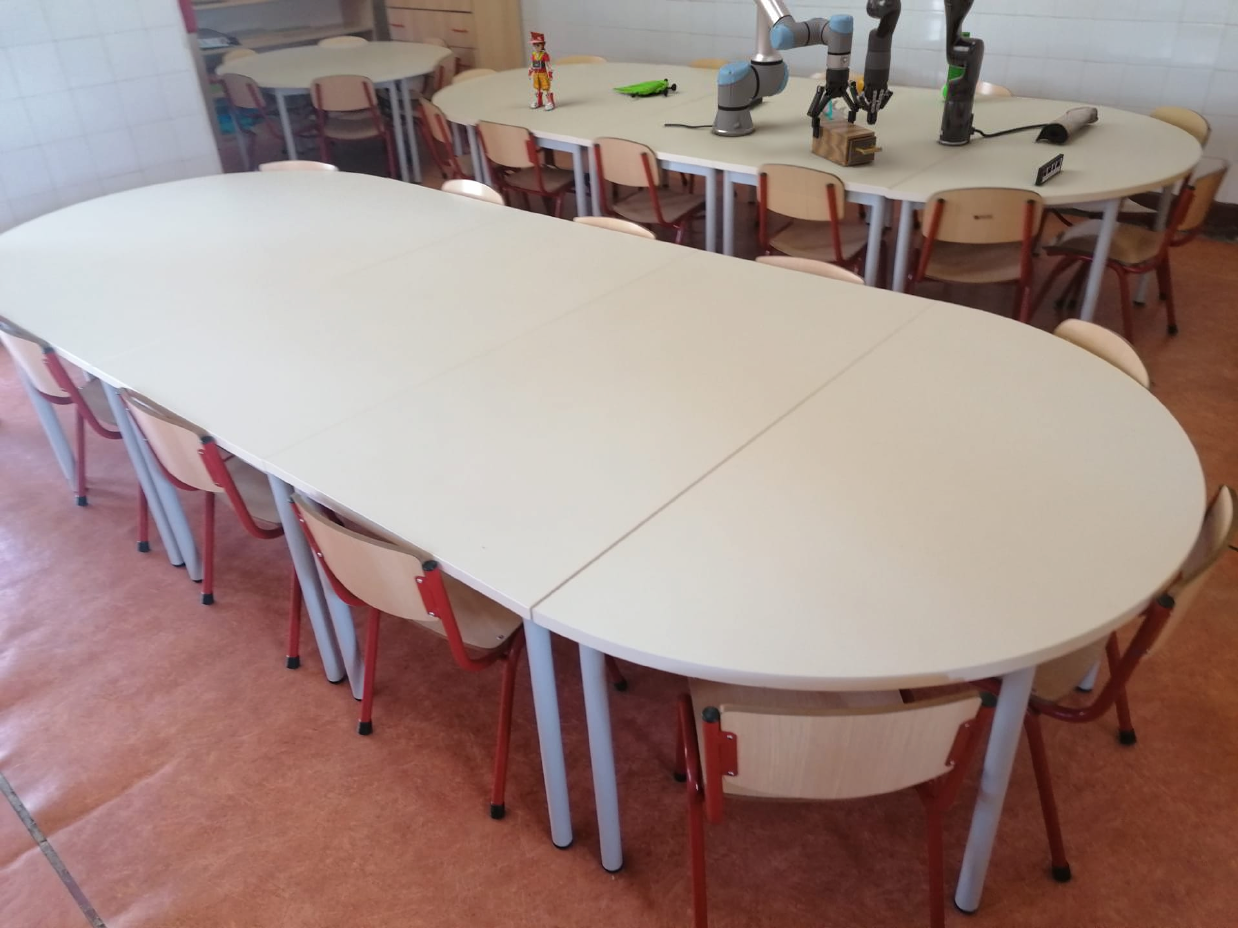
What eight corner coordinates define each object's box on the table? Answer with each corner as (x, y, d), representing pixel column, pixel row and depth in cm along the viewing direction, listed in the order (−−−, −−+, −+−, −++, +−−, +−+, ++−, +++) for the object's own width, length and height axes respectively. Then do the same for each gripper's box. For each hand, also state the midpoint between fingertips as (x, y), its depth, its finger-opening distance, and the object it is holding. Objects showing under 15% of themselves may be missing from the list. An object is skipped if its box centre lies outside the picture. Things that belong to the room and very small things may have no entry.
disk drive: (747, 111, 360) (763, 102, 370) (747, 104, 359) (763, 95, 369) (724, 109, 365) (740, 100, 375) (724, 101, 363) (740, 93, 373)
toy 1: (525, 109, 381) (517, 32, 364) (534, 104, 388) (527, 28, 371) (550, 110, 377) (543, 32, 360) (559, 105, 384) (553, 28, 367)
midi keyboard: (1039, 185, 269) (1043, 168, 266) (1035, 184, 270) (1038, 168, 267) (1060, 170, 279) (1064, 154, 277) (1056, 169, 280) (1060, 153, 277)
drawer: (884, 164, 291) (886, 140, 287) (859, 169, 288) (862, 145, 284) (842, 146, 310) (844, 124, 305) (818, 151, 307) (820, 128, 303)
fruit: (851, 87, 368) (863, 69, 365) (853, 91, 376) (865, 73, 373) (868, 99, 367) (880, 81, 364) (870, 102, 374) (882, 84, 371)
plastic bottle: (973, 101, 354) (984, 32, 339) (955, 106, 349) (966, 36, 335) (952, 97, 361) (962, 29, 346) (934, 102, 356) (944, 33, 342)
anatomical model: (812, 91, 345) (837, 84, 345) (815, 118, 351) (840, 111, 351) (822, 101, 333) (849, 93, 332) (825, 128, 339) (851, 121, 338)
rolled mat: (1064, 112, 323) (1089, 94, 314) (1078, 133, 323) (1104, 116, 315) (1031, 135, 305) (1057, 117, 297) (1046, 157, 306) (1072, 140, 298)
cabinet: (871, 161, 298) (874, 131, 292) (844, 166, 295) (847, 136, 289) (837, 147, 313) (840, 118, 308) (811, 151, 310) (813, 123, 305)
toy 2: (686, 85, 398) (631, 84, 414) (685, 72, 395) (629, 72, 411) (651, 104, 381) (596, 103, 397) (650, 92, 378) (594, 91, 394)
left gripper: (811, 74, 287) (807, 142, 299) (877, 64, 294) (870, 131, 306) (798, 70, 293) (795, 137, 305) (863, 61, 300) (857, 126, 312)
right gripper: (866, 71, 270) (860, 130, 280) (903, 65, 274) (895, 124, 284) (852, 66, 276) (846, 125, 286) (888, 61, 279) (881, 119, 289)
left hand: (832, 134), depth 305 cm, fingers open, 13 cm apart
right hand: (871, 124), depth 285 cm, fingers closed
